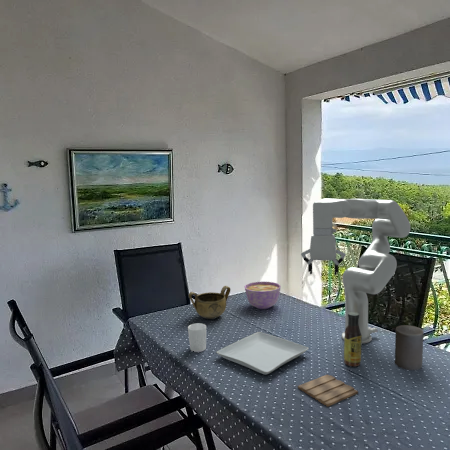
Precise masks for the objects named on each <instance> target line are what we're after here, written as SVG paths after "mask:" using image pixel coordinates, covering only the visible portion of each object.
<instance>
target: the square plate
mask: <svg viewBox="0 0 450 450" xmlns="http://www.w3.org/2000/svg"><path fill="white" fill-rule="evenodd" d="M308 350H309V347H308V346H305V345H302V344H300V343H297V342H294V341H291V340H288V339H285V338H281V337H278V336H275V335H273V334H268V333H265V332H262V331H258V332H255V333H253V334H250V335H247V336H246V337H243V338H242V339H239V340H238V341H235V342H233V343H231V344H229V345H227V346H225V347H222V348H221V349H219V350H217V351H216V352H215V353H216V354H217V355H219V356H220V357H221V358H224V359H226V360H227V361H230V362H234V363H236V364H238V365H240V366H244V367H245V368H249V369H251V370H253V371H255V372H257V373H258V374H263V375H264V376H265V375H269V374H271V373H273V372H274V371H276V370H277V369H279V368H280V367H282V366H284V365H285V364H288V363H289V362H290V361H291V362H292V360H294V359H296V358H299V357H300V356H301V355H303V354H305V352H307V351H308Z"/></svg>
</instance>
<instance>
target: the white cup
mask: <svg viewBox="0 0 450 450" xmlns="http://www.w3.org/2000/svg"><path fill="white" fill-rule="evenodd" d="M187 330H188V331H187V332H188V333H187V334H188V341H189V349H190V351H191V352H193V351H194V352H193V353H200V352H204V351H206V349H207V325H206V324H204V323H201V322H200V323H198V322H197V323H191V324H190V325H188V326H187Z"/></svg>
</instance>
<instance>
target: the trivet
mask: <svg viewBox="0 0 450 450" xmlns="http://www.w3.org/2000/svg"><path fill="white" fill-rule="evenodd" d="M297 389H298V390H300V391H302V392H304V393H305V394H307V395H308V396H310V397H312V398H313V399H314V398H315V399H314V400H316V401H317V400H318V401H317V402H319V403H321V404H322V405H324V406H325V405H326V407H330V406H332V405H335V404H337V403H339V402H341V401H344V400H346V399H348V398H351V397H353V396H355V395H357V394H359V390H357V389H355V388H354V387H353V386H351V385H350V384H346V383H345V382H344V381H342V380H340V379H339V380H338V379H337V378H336V377H335V376H333V375H329V374H325V375H321V376H320V377H318V378H315V379H312V380H310V381H307V382H304V383H302V384H299V385H298V386H297Z"/></svg>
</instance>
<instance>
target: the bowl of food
mask: <svg viewBox="0 0 450 450" xmlns="http://www.w3.org/2000/svg"><path fill="white" fill-rule="evenodd" d="M244 290H245V294H246V298H247V301H248V303H249V304H250V305H251V306H253V307H255V308H257V309H260V310H265V309H270V308H271V307H273V306H274V305H276V304H277V302H278V300H279V297H280V292H281V284H279V283H277V282H272V281H254V282H250V283H246V284H245V285H244Z"/></svg>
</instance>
